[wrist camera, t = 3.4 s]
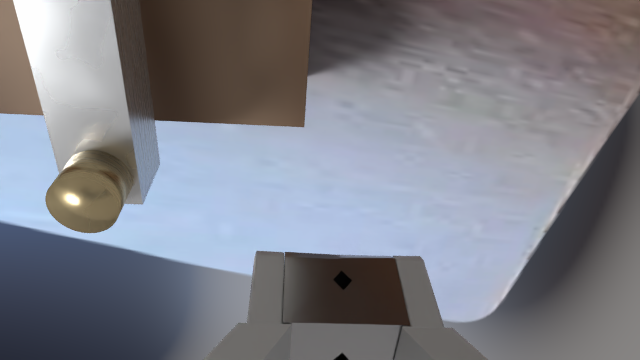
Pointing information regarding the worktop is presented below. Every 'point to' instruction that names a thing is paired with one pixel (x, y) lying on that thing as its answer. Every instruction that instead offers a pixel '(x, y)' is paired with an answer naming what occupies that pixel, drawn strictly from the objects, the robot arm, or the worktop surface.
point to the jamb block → (198, 61)
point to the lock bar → (93, 105)
